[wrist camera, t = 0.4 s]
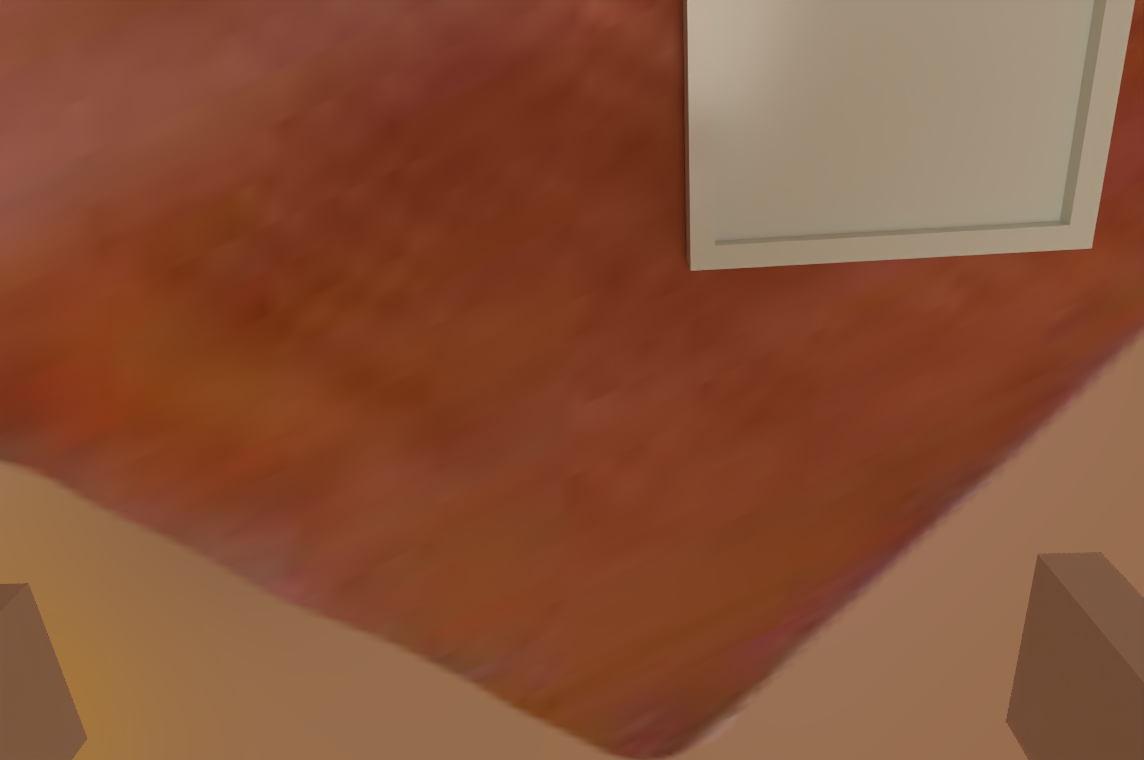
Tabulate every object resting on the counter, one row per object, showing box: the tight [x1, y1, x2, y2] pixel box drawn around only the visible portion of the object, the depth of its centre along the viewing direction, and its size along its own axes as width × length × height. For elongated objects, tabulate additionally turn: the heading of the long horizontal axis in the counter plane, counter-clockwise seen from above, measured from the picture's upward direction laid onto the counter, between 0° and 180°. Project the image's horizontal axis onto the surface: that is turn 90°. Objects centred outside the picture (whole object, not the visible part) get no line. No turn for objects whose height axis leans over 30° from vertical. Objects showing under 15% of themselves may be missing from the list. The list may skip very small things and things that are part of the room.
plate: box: [683, 0, 1135, 271], centre depth 32 cm, size 16×16×2 cm
